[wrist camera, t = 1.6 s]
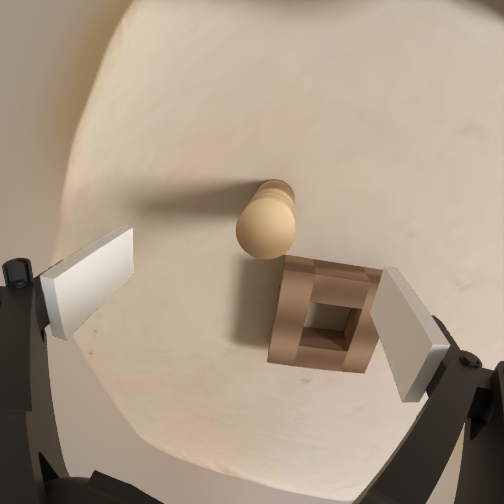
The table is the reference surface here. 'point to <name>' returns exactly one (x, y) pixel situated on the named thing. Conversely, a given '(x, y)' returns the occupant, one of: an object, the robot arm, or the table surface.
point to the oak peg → (268, 221)
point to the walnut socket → (333, 293)
